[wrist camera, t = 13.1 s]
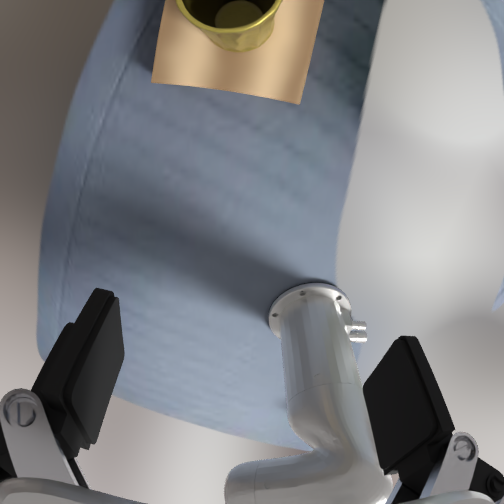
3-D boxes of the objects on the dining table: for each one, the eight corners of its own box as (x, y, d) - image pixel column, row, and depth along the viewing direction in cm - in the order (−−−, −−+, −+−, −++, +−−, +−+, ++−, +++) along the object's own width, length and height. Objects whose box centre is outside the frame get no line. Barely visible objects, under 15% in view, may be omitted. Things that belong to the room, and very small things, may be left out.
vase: (286, 9, 22) (317, -34, 10) (254, 63, 25) (257, 62, 13) (224, -17, 20) (200, -77, 8) (193, 37, 23) (143, 19, 11)
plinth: (321, -17, 22) (329, -26, 19) (294, 99, 30) (299, 104, 27) (185, -37, 21) (177, -48, 18) (162, 80, 29) (151, 82, 25)
